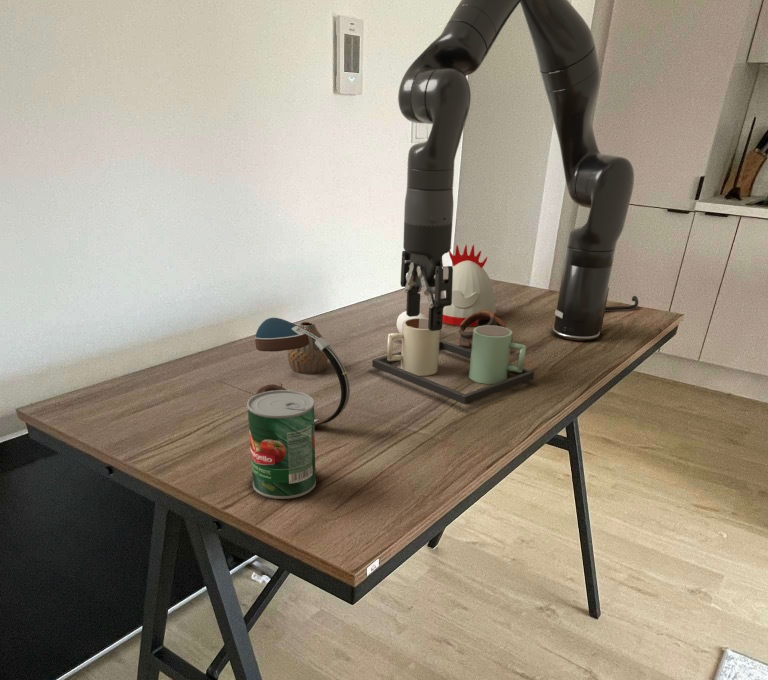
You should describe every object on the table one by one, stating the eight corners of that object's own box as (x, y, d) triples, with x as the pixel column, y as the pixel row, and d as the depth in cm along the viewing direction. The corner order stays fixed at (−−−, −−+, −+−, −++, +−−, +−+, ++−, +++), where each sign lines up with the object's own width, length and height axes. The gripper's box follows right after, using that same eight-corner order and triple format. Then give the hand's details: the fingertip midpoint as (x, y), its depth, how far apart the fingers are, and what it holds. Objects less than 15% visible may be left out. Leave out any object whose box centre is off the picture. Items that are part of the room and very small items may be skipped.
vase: (335, 371, 123) (335, 321, 119) (316, 383, 118) (314, 332, 113) (301, 364, 126) (299, 315, 121) (280, 376, 120) (278, 325, 116)
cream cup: (430, 362, 126) (433, 317, 121) (442, 374, 120) (446, 328, 116) (381, 365, 123) (382, 319, 119) (392, 378, 118) (393, 331, 114)
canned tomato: (240, 491, 87) (233, 408, 81) (271, 464, 93) (267, 385, 87) (298, 504, 84) (295, 420, 79) (326, 476, 91) (325, 396, 85)
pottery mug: (515, 361, 132) (500, 325, 127) (468, 377, 135) (452, 344, 130) (512, 326, 140) (498, 291, 135) (468, 343, 144) (452, 310, 139)
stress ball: (429, 360, 139) (447, 330, 138) (403, 342, 134) (422, 311, 133) (407, 347, 145) (425, 318, 143) (382, 330, 139) (399, 300, 138)
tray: (440, 351, 134) (441, 340, 133) (532, 384, 121) (534, 371, 119) (371, 372, 124) (372, 359, 122) (464, 410, 110) (465, 396, 109)
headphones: (204, 406, 106) (333, 449, 100) (202, 306, 98) (342, 347, 91) (228, 393, 111) (353, 433, 104) (229, 297, 103) (364, 335, 96)
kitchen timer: (434, 306, 161) (439, 236, 153) (495, 310, 160) (502, 240, 152) (429, 323, 149) (434, 249, 142) (494, 328, 148) (503, 253, 140)
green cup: (463, 379, 119) (467, 332, 114) (476, 368, 124) (481, 322, 119) (514, 390, 115) (521, 342, 111) (526, 378, 120) (533, 331, 116)
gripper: (471, 225, 105) (463, 332, 114) (429, 210, 116) (425, 309, 125) (426, 228, 103) (421, 337, 111) (388, 213, 114) (386, 313, 122)
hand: (423, 322), depth 118 cm, fingers open, 8 cm apart
